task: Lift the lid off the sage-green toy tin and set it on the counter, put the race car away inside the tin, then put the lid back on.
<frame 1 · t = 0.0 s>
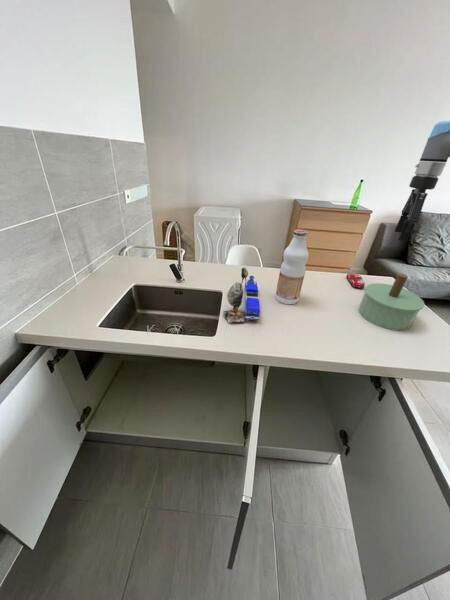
hand: (400, 236, 96), 25 cm above the worktop, tool pointing down, fingers open, 13 cm apart
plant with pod: (233, 315, 88), on the worktop
race car: (354, 283, 116), on the worktop
fruit juice: (286, 299, 100), on the worktop
tin: (383, 315, 93), on the worktop
tin lid: (392, 296, 88), point 8 cm above the worktop, touching tin
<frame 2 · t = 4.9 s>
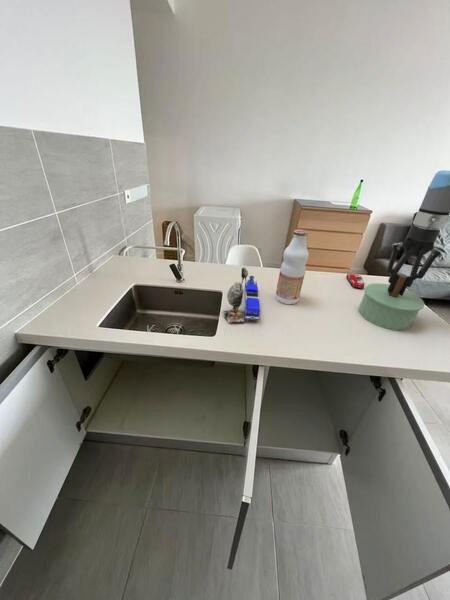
hand: (394, 292, 87), 10 cm above the worktop, tool pointing down, fingers closed on tin lid, 3 cm apart
tin lid: (392, 296, 88), point 8 cm above the worktop, touching gripper, tin
everything else where it was.
when the fingers open (2 cm above the worktop, at t = 12.6 s): tin lid stays where it is, point 1 cm above the worktop.
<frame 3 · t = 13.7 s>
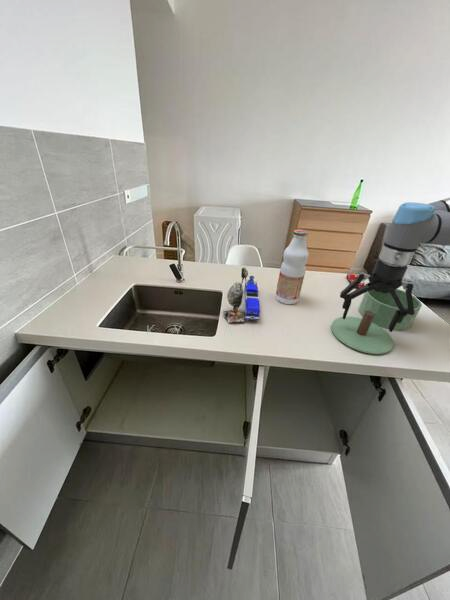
hand: (366, 323, 79), 5 cm above the worktop, tool pointing down, fingers open, 13 cm apart
tin lid: (360, 334, 81), point 1 cm above the worktop
everything else where it was.
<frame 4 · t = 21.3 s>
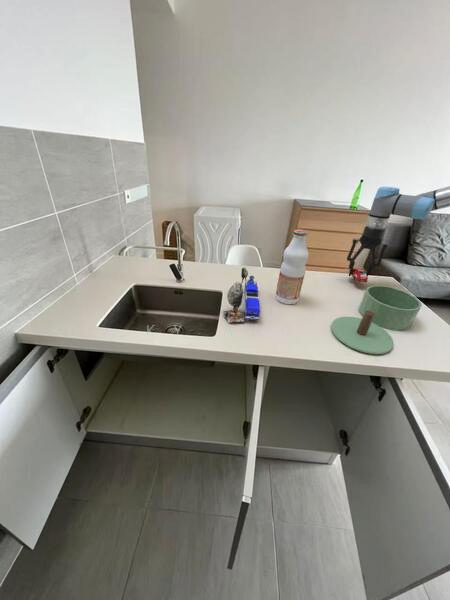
hand: (357, 276, 114), 3 cm above the worktop, tool pointing down, fingers closed on race car, 6 cm apart
race car: (357, 277, 114), point 3 cm above the worktop, touching gripper
everything else where it was.
when the fingers open (4 cm above the worktop, at t = 28.7 s): race car drops 3 cm, resting on tin.
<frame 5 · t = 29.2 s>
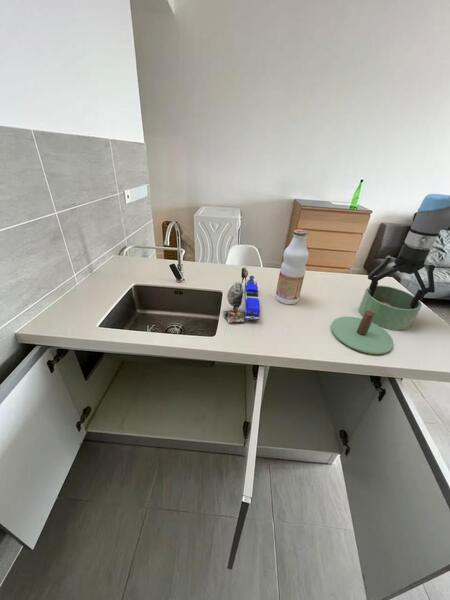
hand: (390, 301, 90), 6 cm above the worktop, tool pointing down, fingers open, 13 cm apart
race car: (385, 315, 93), resting on tin
everything else where it was.
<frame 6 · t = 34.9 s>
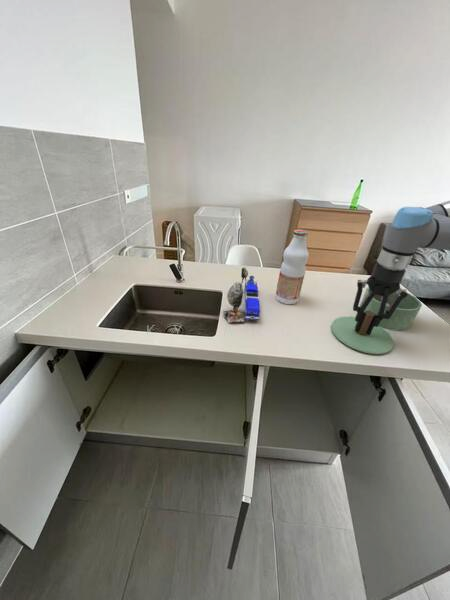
hand: (362, 330, 81), 2 cm above the worktop, tool pointing down, fingers closed on tin lid, 3 cm apart
tin lid: (360, 334, 81), point 1 cm above the worktop, touching gripper
everything else where it was.
when the fingers open (10 cm above the worktop, at t = 44.0 s): tin lid stays where it is, resting on tin.
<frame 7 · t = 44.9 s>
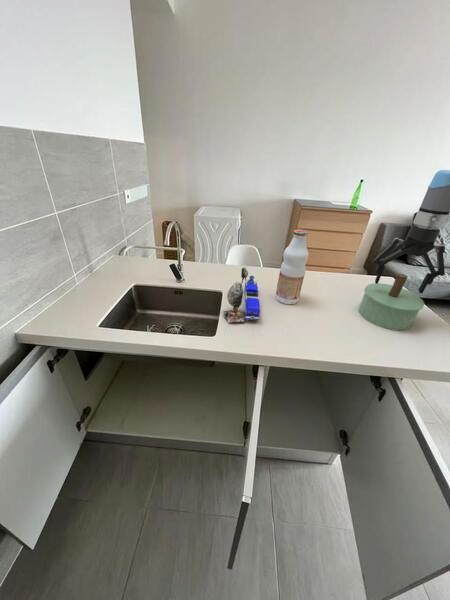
hand: (397, 286, 86), 13 cm above the worktop, tool pointing down, fingers open, 13 cm apart
tin lid: (392, 296, 88), point 8 cm above the worktop, touching tin
everything else where it was.
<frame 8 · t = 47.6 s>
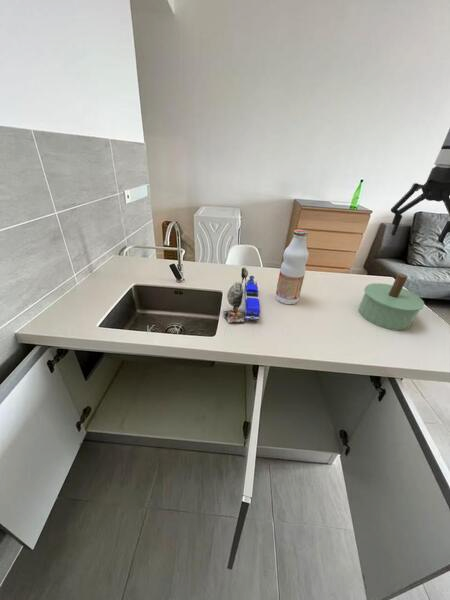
hand: (415, 238, 82), 29 cm above the worktop, tool pointing down, fingers open, 13 cm apart
nothing on the worktop moved.
at the end: race car inside the target area in the tin (0.4 cm from its centre), point 0.3 cm above the tin's base; tin lid 0.0 cm off-centre on the tin, point 8.5 cm above the tin's base; tin lid tilted 0° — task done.
